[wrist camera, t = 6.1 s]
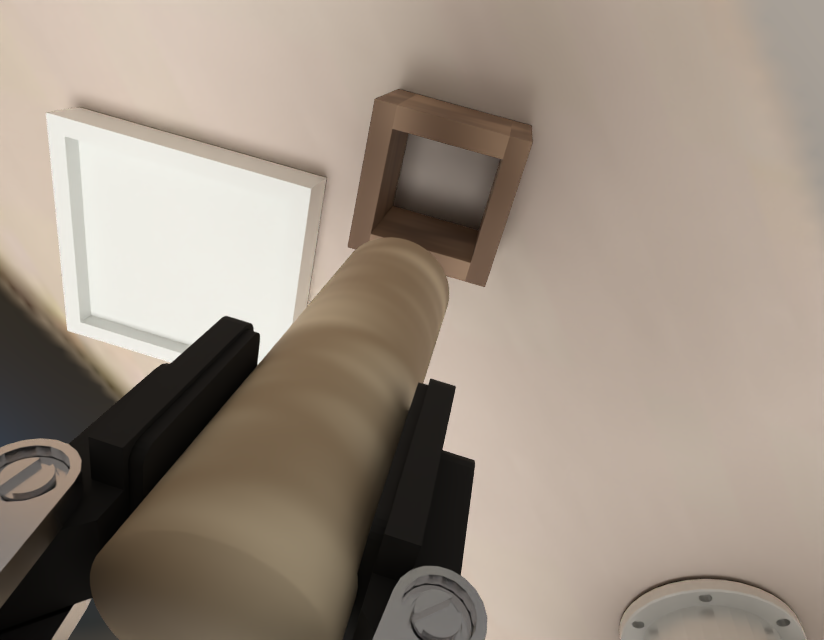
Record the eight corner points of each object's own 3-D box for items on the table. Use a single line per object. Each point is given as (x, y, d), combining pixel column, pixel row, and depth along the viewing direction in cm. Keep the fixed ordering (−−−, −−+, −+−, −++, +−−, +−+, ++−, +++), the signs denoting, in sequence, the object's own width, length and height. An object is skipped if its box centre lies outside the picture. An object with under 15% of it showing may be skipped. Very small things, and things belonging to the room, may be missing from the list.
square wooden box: (531, 125, 27) (532, 142, 23) (490, 251, 31) (484, 287, 26) (398, 88, 28) (374, 98, 23) (372, 217, 31) (347, 247, 27)
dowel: (462, 255, 16) (356, 587, 6) (433, 352, 17) (314, 732, 8) (351, 223, 16) (81, 494, 6) (332, 321, 18) (96, 655, 8)
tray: (326, 177, 31) (311, 188, 28) (296, 375, 37) (282, 396, 35) (79, 107, 31) (45, 112, 29) (93, 313, 38) (67, 330, 36)
